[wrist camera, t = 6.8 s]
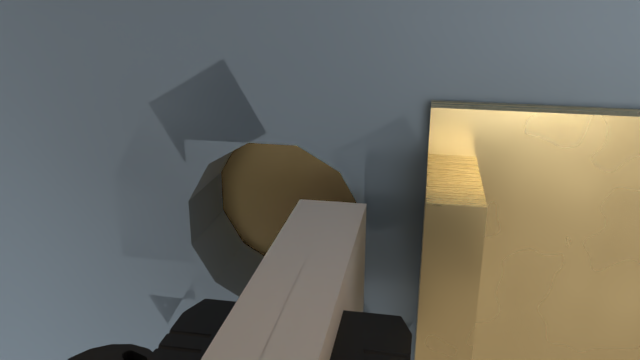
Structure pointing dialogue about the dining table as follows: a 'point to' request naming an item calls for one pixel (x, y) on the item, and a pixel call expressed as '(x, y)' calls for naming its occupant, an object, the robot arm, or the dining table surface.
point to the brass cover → (530, 234)
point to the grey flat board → (245, 137)
